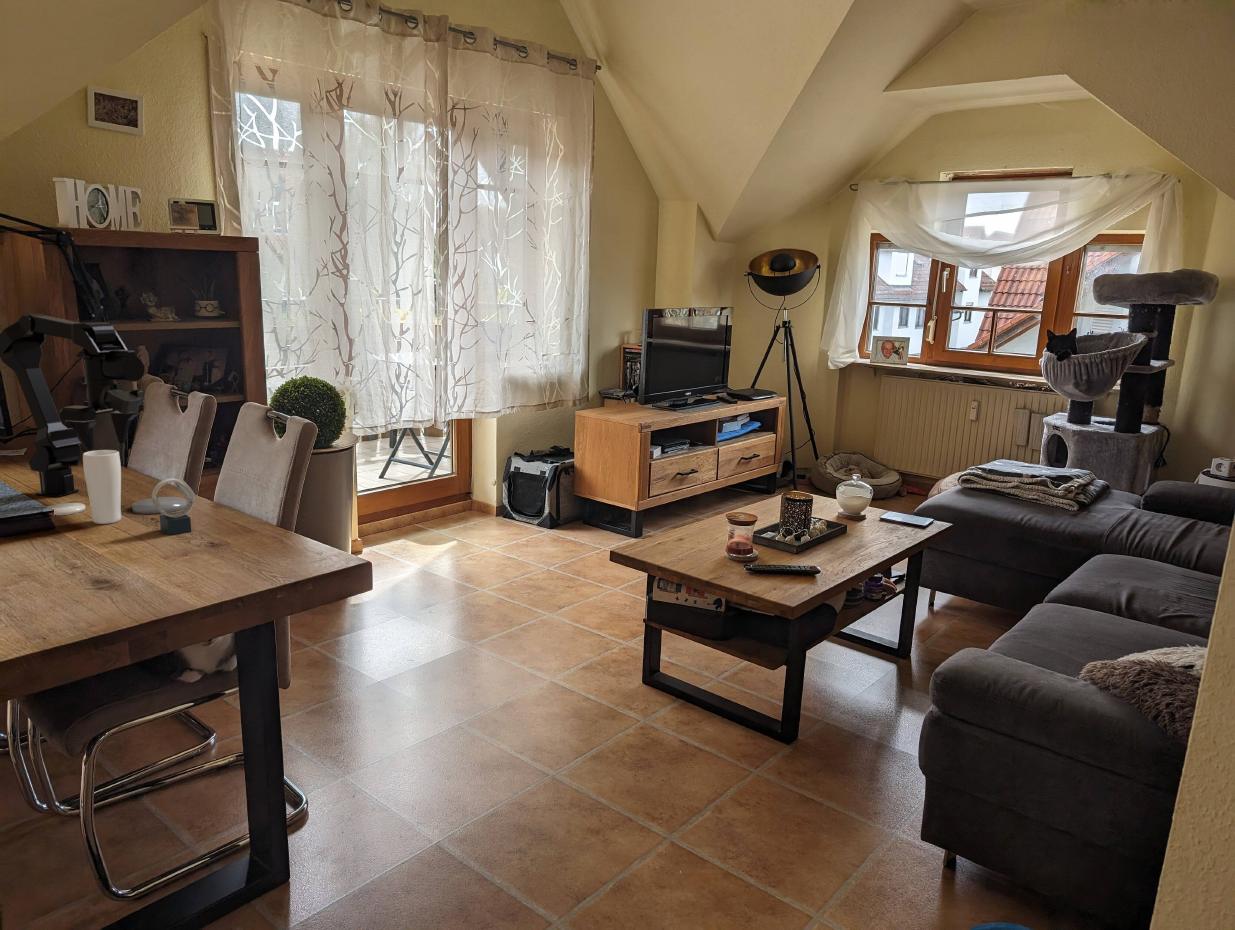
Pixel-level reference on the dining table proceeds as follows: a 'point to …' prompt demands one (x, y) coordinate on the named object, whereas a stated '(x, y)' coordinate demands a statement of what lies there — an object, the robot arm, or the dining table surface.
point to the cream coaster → (67, 508)
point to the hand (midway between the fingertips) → (106, 446)
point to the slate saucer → (166, 503)
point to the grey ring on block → (179, 520)
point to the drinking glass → (103, 484)
